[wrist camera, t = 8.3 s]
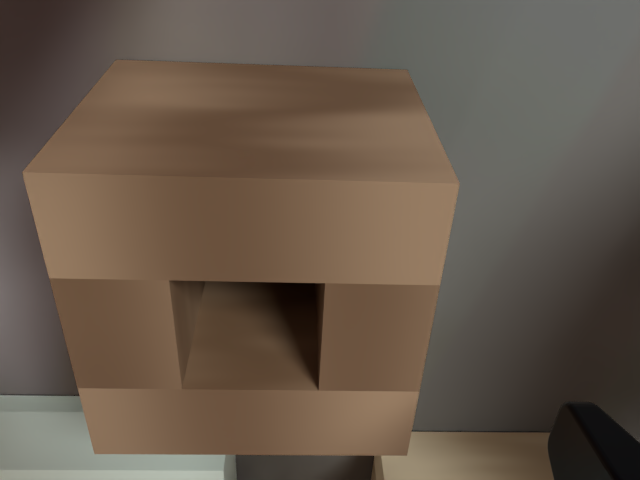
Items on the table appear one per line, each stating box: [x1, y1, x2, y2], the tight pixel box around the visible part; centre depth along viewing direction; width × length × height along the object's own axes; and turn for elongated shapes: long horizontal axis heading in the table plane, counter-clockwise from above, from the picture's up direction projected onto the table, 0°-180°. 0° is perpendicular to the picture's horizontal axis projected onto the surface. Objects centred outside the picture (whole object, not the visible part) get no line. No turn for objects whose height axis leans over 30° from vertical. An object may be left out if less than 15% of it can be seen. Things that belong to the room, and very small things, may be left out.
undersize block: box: [22, 60, 460, 456], centre depth 12 cm, size 6×6×5 cm
